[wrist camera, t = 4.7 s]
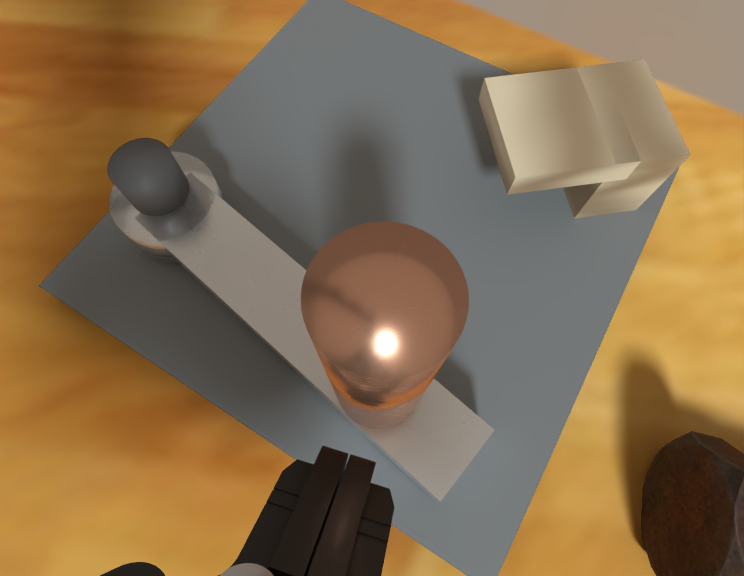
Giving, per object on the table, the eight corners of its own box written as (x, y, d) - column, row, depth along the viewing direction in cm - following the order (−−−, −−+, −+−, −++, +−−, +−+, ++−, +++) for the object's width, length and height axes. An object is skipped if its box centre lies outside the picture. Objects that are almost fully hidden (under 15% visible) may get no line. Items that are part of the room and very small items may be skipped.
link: (112, 222, 21) (-124, -8, 11) (186, 162, 23) (34, -94, 12) (420, 514, 17) (494, 572, 7) (492, 420, 18) (646, 350, 8)
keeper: (490, 229, 22) (515, 177, 18) (466, 142, 24) (484, 77, 20) (636, 210, 22) (690, 154, 18) (601, 125, 24) (644, 59, 20)
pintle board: (483, 583, 18) (529, 629, 12) (55, 295, 22) (-44, 238, 17) (672, 164, 24) (753, 80, 19) (320, 8, 29) (309, -95, 24)
